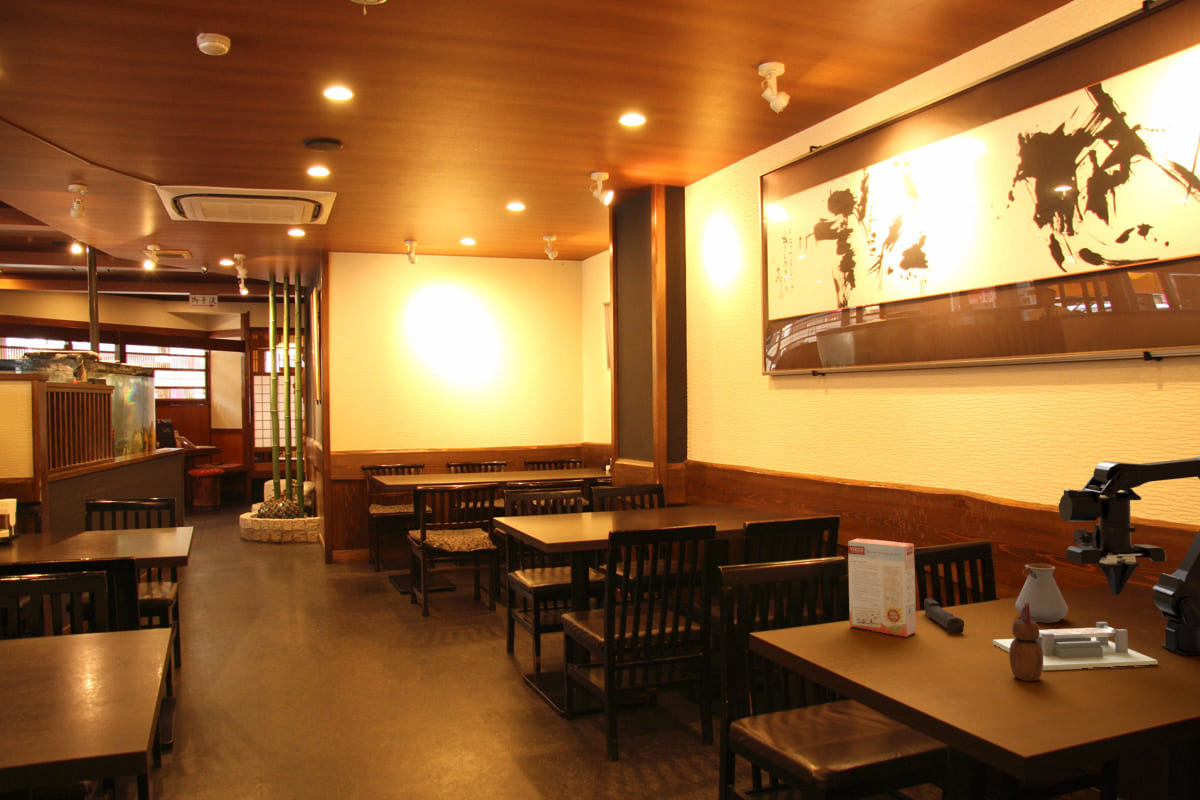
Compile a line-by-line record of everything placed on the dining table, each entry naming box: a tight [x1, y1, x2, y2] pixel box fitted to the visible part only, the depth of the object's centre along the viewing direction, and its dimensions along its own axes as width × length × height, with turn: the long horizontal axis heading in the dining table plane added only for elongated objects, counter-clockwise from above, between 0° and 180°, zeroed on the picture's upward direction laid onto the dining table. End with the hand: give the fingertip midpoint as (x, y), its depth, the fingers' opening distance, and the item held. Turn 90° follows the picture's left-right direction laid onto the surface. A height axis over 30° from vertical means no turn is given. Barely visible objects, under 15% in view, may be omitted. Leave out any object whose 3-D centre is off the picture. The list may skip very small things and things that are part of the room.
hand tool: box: [923, 597, 965, 635], centre depth 198 cm, size 19×4×5 cm, turn 176°
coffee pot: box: [1014, 563, 1069, 624], centre depth 196 cm, size 21×12×15 cm, turn 142°
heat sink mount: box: [992, 621, 1158, 671], centre depth 172 cm, size 24×18×6 cm
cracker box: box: [847, 538, 917, 638], centre depth 192 cm, size 14×6×21 cm, turn 47°
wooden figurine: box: [1008, 603, 1043, 682], centre depth 158 cm, size 7×6×15 cm
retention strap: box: [1039, 625, 1116, 639], centre depth 172 cm, size 17×4×2 cm, turn 94°
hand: (1116, 594), depth 174 cm, fingers closed
